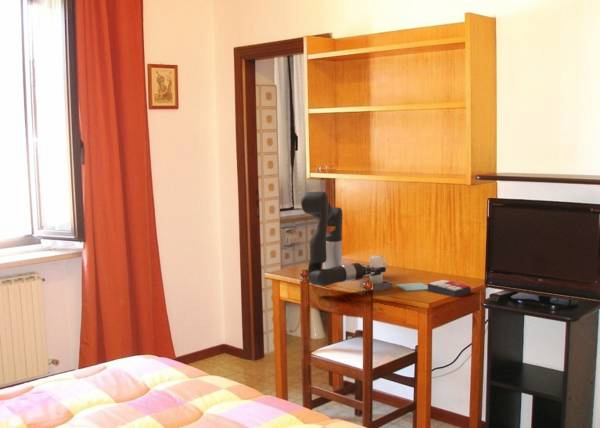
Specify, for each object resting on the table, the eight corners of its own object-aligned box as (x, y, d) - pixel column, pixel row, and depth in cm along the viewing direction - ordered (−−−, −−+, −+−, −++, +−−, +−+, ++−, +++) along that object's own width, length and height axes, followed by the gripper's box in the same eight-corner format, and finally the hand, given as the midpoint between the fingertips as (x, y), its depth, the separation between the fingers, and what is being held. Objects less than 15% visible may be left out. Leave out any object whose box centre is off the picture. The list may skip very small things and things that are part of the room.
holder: (374, 291, 301) (374, 285, 301) (359, 286, 310) (359, 281, 309) (392, 288, 307) (392, 282, 306) (377, 283, 315) (377, 278, 315)
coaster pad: (396, 285, 311) (396, 284, 311) (421, 284, 314) (421, 282, 314) (406, 291, 300) (406, 290, 300) (431, 289, 302) (431, 288, 302)
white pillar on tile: (374, 289, 304) (375, 258, 302) (366, 286, 309) (366, 256, 307) (389, 287, 308) (389, 256, 307) (380, 284, 313) (381, 254, 312)
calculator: (455, 289, 288) (427, 282, 300) (455, 299, 289) (427, 291, 300) (471, 285, 295) (443, 278, 307) (470, 295, 296) (442, 287, 307)
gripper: (360, 266, 293) (390, 262, 302) (340, 261, 305) (370, 257, 314) (360, 283, 294) (390, 279, 303) (340, 278, 306) (370, 273, 315)
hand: (380, 268), depth 308 cm, fingers closed on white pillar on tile, 6 cm apart
